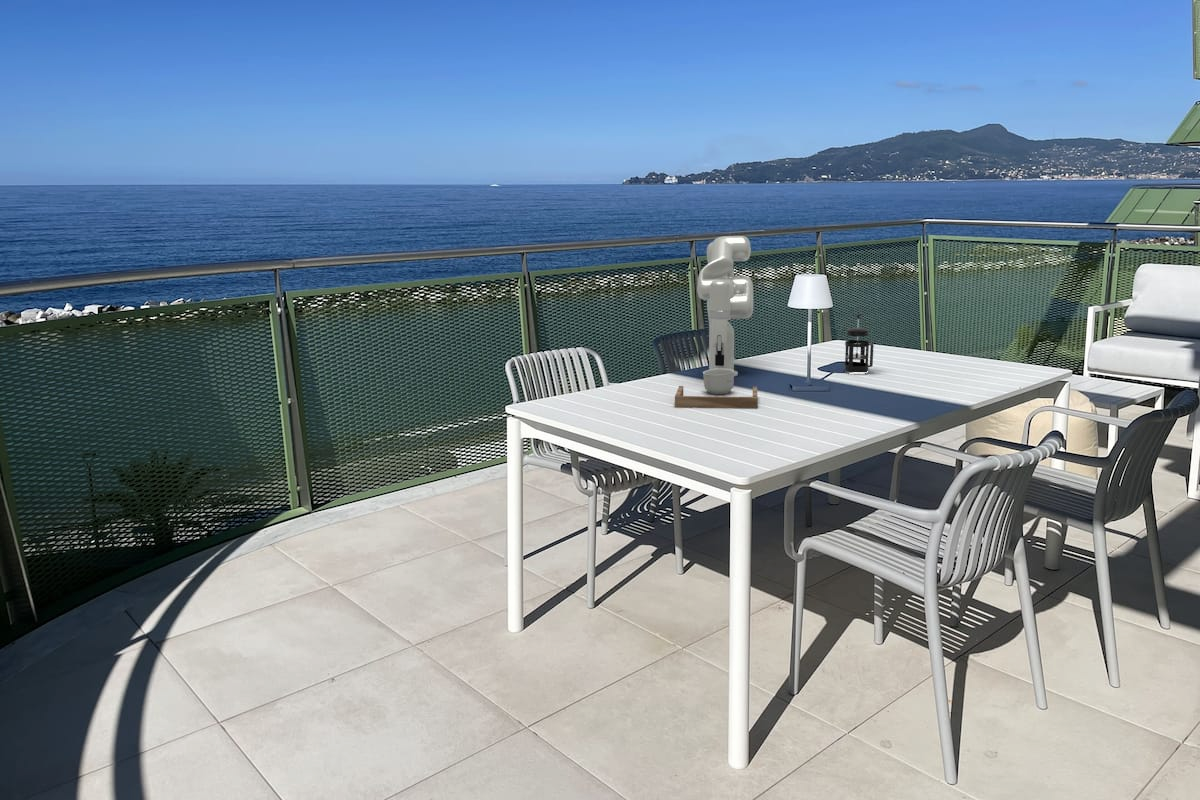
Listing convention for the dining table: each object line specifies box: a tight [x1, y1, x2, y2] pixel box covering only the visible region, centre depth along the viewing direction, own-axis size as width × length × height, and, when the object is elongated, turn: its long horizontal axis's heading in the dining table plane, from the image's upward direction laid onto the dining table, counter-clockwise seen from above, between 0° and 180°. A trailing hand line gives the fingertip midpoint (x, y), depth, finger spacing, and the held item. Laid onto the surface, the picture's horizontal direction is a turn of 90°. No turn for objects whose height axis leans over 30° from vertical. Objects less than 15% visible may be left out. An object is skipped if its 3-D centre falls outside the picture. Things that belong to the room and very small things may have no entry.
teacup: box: [702, 368, 735, 395], centre depth 306 cm, size 14×11×8 cm
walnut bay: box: [674, 385, 759, 409], centre depth 292 cm, size 18×27×4 cm, turn 80°
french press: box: [843, 312, 874, 372], centre depth 331 cm, size 12×9×23 cm
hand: (719, 365), depth 315 cm, fingers closed
